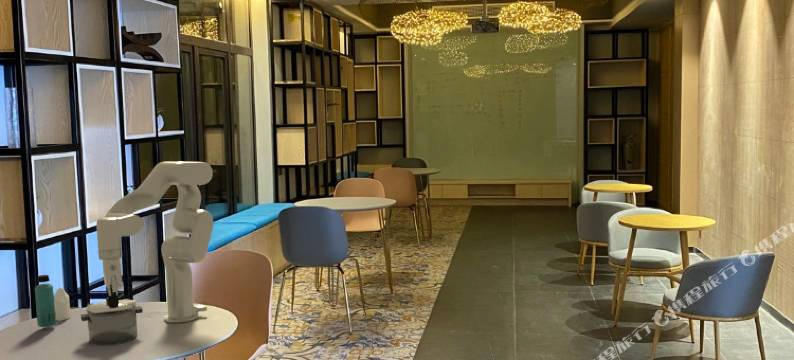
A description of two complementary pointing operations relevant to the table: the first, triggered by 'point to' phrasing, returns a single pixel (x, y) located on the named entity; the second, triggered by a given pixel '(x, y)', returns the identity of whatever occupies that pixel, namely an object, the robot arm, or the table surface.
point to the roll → (62, 305)
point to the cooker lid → (104, 307)
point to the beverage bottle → (45, 303)
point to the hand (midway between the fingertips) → (113, 306)
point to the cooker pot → (112, 326)
